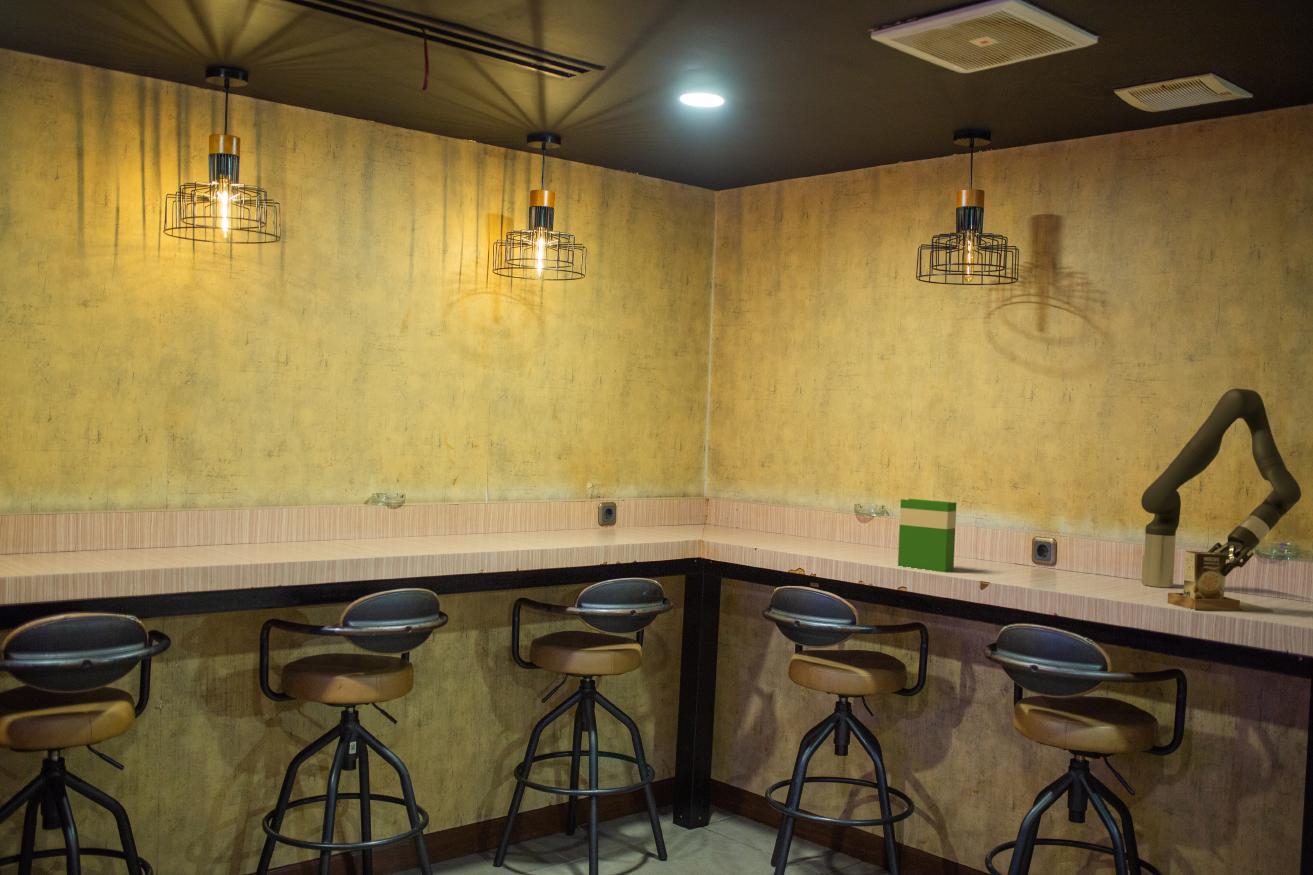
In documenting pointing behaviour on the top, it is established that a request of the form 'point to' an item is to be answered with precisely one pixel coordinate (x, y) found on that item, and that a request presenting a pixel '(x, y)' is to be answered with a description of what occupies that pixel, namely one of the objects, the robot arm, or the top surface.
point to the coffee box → (1204, 575)
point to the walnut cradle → (1203, 602)
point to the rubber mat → (1252, 607)
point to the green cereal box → (927, 534)
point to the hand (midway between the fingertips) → (1212, 571)
